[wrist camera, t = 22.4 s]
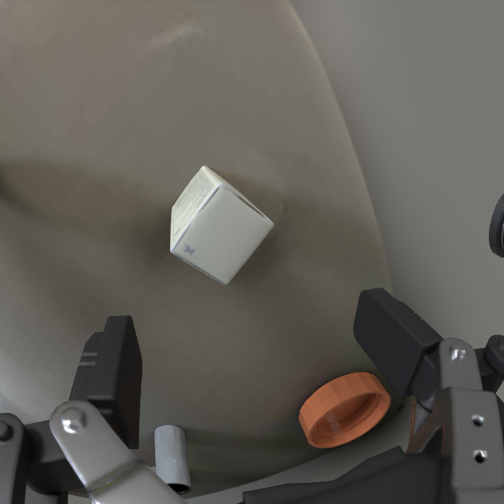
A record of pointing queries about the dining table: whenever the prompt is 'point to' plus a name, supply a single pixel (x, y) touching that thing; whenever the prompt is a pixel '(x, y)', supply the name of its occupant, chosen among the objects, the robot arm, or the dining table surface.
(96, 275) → the dining table surface
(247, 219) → the box
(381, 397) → the bowl
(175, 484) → the grey tube
